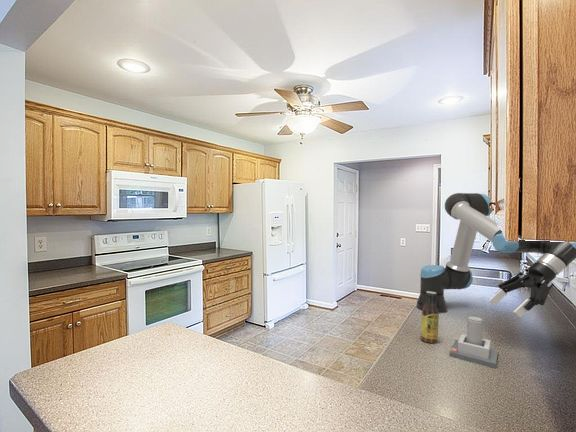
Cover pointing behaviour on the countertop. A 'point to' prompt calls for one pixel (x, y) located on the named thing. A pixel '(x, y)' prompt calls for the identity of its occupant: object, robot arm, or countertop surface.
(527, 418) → the countertop surface
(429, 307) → the sauce bottle
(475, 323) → the beverage can
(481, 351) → the socket plate
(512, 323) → the countertop surface
